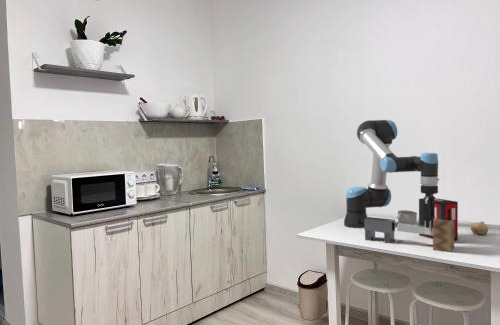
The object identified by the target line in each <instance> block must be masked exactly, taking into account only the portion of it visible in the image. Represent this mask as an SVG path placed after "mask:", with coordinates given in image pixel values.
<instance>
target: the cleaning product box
mask: <svg viewBox="0 0 500 325" xmlns="http://www.w3.org/2000/svg"><path fill="white" fill-rule="evenodd" d="M423 200H424V197H423V198H418V225H422V226H425V221H424V220H423V219H424V202H423ZM458 203H459V202H458V201H456V200H449V199H443V198H436V197H435V216H434V217H436V218H434V221H435V220H437V219H441V220H451V221H454V242H457V241H458V240H459V239H458V237H459V236H458V234H459V233H458V232H459V231H458V227H459V226H458V222H459V220H458V217H459V216H458V214H459V212H458V208H459V207H458V206H459V204H458ZM418 236H420V237H424V238H427V239H431V240H433V235H427V234H418Z"/></svg>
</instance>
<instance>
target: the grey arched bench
mask: <svg viewBox="0 0 500 325" xmlns="http://www.w3.org/2000/svg"><path fill="white" fill-rule="evenodd" d="M363 228H364V241H370V242H371V241H373V240H374V239H376V232H377V233H383V238H384V240H383V242H384V244H385V243H386V244H391V243H393V242H394V241H395V232H396V219H393V218H391V219H390V218H382V217H371V216H367V218H365V219H364V227H363Z"/></svg>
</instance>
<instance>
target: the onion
mask: <svg viewBox="0 0 500 325" xmlns="http://www.w3.org/2000/svg"><path fill="white" fill-rule="evenodd" d="M470 230H471V232H472V233H473V235H477V236H479V235H482V236H484V235H486V234H488V233H489V227H488V225H487V224H486V223H485V222H484V221H480V222H473V223H472V225H470Z"/></svg>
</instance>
